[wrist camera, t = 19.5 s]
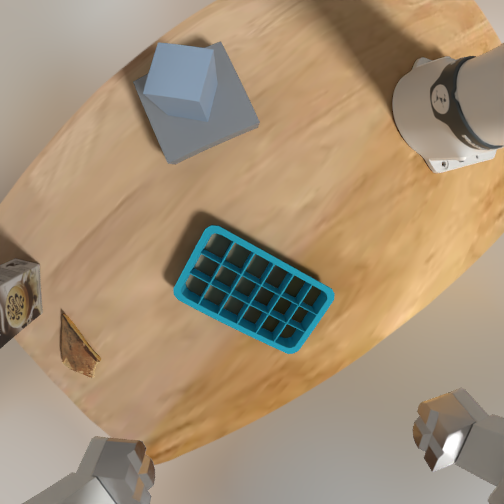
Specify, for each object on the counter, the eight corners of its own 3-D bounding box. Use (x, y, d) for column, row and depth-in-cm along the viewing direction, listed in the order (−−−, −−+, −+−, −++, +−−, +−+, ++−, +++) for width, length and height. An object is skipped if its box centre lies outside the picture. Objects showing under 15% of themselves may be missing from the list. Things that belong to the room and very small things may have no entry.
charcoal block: (222, 54, 38) (220, 41, 33) (257, 128, 41) (259, 122, 36) (143, 90, 39) (133, 81, 34) (175, 164, 42) (167, 163, 37)
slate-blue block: (217, 83, 35) (213, 49, 23) (207, 122, 36) (199, 101, 24) (177, 77, 34) (158, 42, 22) (167, 115, 35) (142, 93, 24)
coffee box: (44, 313, 46) (-9, 359, 30) (17, 305, 45) (-37, 346, 29) (40, 263, 44) (-21, 298, 28) (13, 256, 43) (-49, 287, 27)
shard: (66, 310, 46) (61, 314, 44) (105, 325, 47) (102, 330, 45) (64, 360, 49) (60, 365, 47) (101, 375, 49) (98, 380, 48)
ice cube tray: (291, 346, 49) (294, 356, 46) (173, 288, 46) (169, 295, 43) (332, 285, 47) (338, 292, 44) (211, 217, 44) (209, 221, 41)
